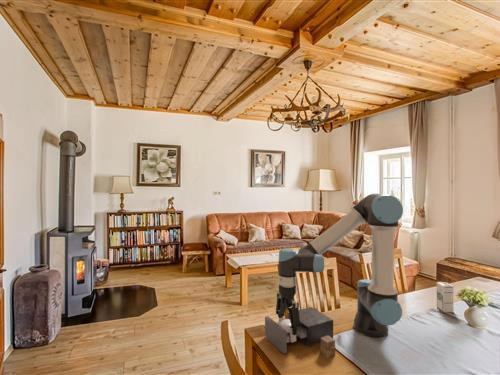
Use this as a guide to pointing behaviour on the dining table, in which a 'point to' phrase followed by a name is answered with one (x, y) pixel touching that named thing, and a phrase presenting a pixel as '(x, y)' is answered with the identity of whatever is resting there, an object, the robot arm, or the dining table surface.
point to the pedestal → (327, 346)
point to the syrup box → (445, 297)
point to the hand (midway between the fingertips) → (287, 336)
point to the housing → (314, 326)
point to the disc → (285, 324)
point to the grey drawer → (280, 334)
